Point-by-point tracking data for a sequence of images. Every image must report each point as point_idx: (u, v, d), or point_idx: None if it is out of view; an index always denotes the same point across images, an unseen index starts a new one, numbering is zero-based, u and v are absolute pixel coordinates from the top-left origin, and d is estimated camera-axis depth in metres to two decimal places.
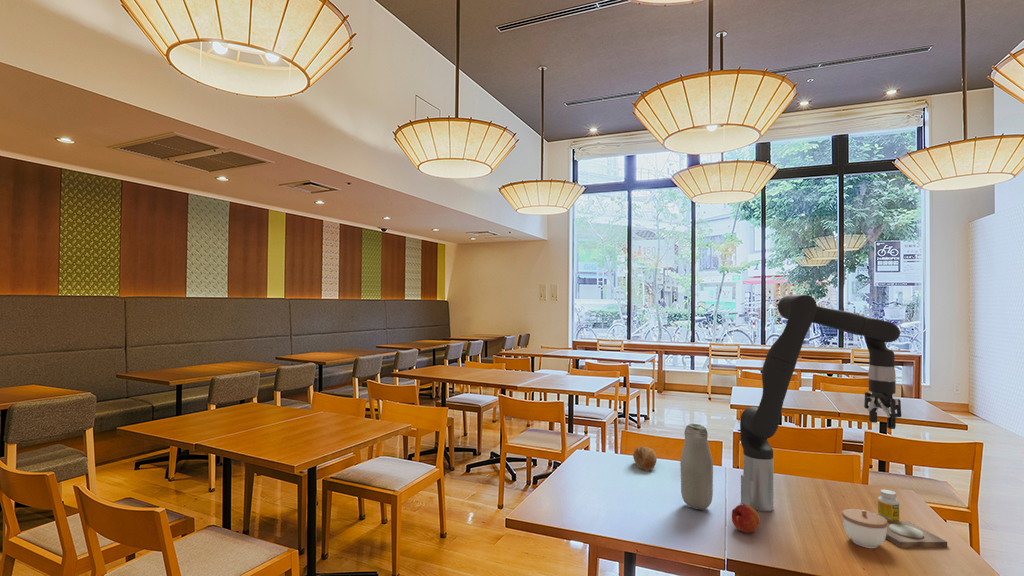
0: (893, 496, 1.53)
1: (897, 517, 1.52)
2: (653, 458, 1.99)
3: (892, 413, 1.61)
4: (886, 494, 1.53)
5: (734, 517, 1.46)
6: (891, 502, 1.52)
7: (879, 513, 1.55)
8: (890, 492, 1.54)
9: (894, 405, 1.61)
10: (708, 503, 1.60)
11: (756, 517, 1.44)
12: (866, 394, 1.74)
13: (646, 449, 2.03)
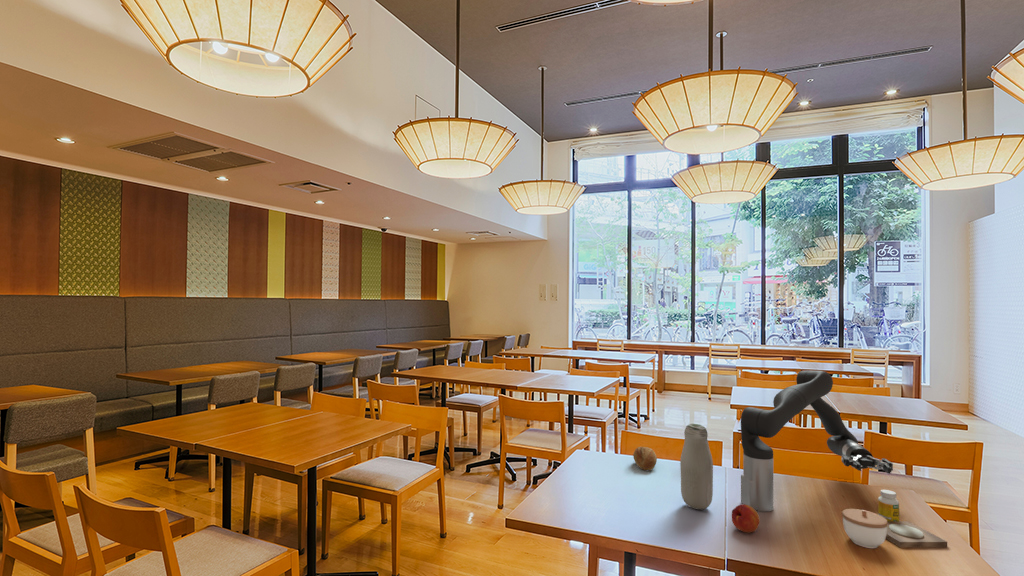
0: (893, 496, 1.53)
1: (897, 517, 1.52)
2: (653, 458, 1.99)
3: (889, 462, 1.69)
4: (886, 494, 1.53)
5: (734, 517, 1.46)
6: (891, 502, 1.52)
7: (879, 513, 1.55)
8: (890, 492, 1.54)
9: None
10: (708, 503, 1.60)
11: (756, 517, 1.44)
12: (844, 455, 1.76)
13: (646, 449, 2.03)
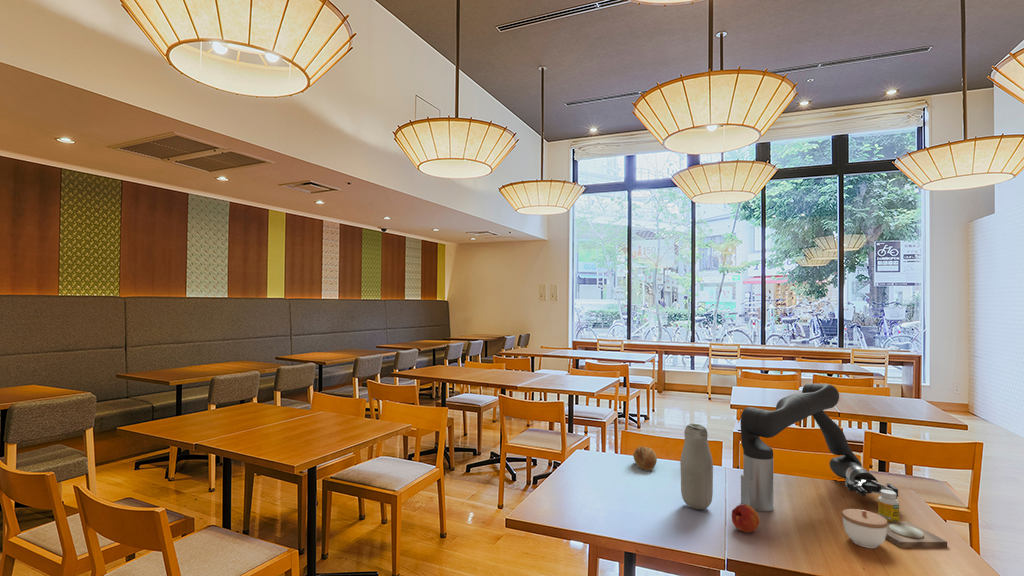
0: (893, 496, 1.53)
1: (897, 517, 1.52)
2: (653, 458, 1.99)
3: (895, 488, 1.64)
4: (886, 494, 1.53)
5: (734, 517, 1.46)
6: (891, 502, 1.52)
7: (879, 513, 1.55)
8: (890, 492, 1.54)
9: None
10: (708, 503, 1.60)
11: (756, 517, 1.44)
12: (848, 479, 1.72)
13: (646, 449, 2.03)
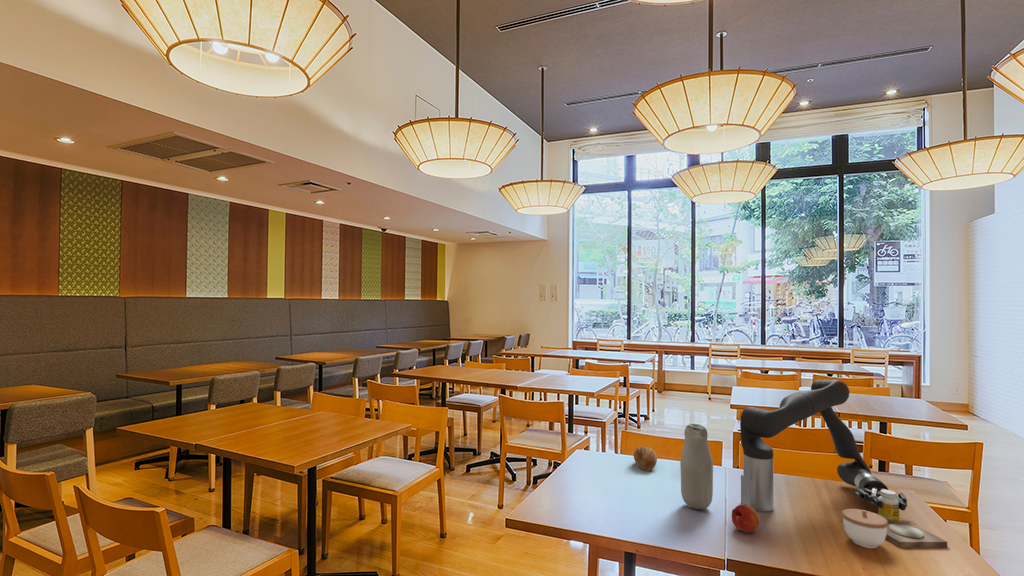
0: (893, 496, 1.53)
1: (897, 517, 1.52)
2: (653, 458, 1.99)
3: (904, 497, 1.56)
4: (886, 494, 1.53)
5: (734, 517, 1.46)
6: (891, 502, 1.52)
7: (879, 513, 1.55)
8: (890, 492, 1.54)
9: (904, 496, 1.58)
10: (708, 503, 1.60)
11: (756, 517, 1.44)
12: (858, 488, 1.63)
13: (646, 449, 2.03)
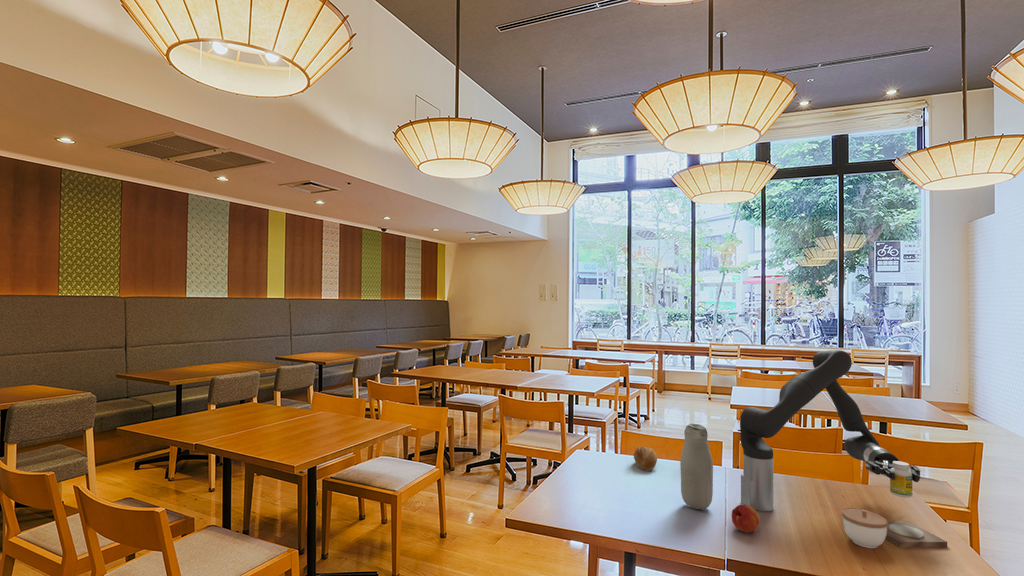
0: (906, 467, 1.45)
1: (910, 489, 1.45)
2: (653, 458, 1.99)
3: (917, 469, 1.49)
4: (898, 466, 1.46)
5: (734, 517, 1.46)
6: (904, 473, 1.45)
7: (891, 485, 1.48)
8: (903, 463, 1.47)
9: None
10: (708, 503, 1.60)
11: (756, 517, 1.44)
12: (869, 461, 1.56)
13: (646, 449, 2.03)
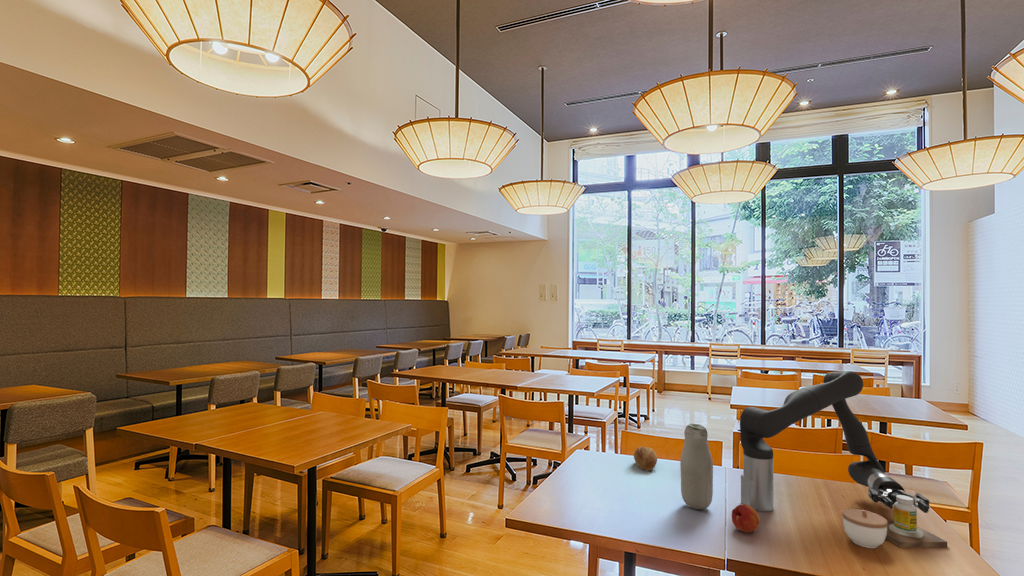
0: (910, 502, 1.43)
1: (914, 524, 1.42)
2: (653, 458, 1.99)
3: (925, 499, 1.46)
4: (902, 500, 1.44)
5: (734, 517, 1.46)
6: (908, 508, 1.42)
7: (895, 520, 1.45)
8: (907, 498, 1.44)
9: None
10: (708, 503, 1.60)
11: (756, 517, 1.44)
12: (871, 489, 1.54)
13: (647, 449, 2.03)
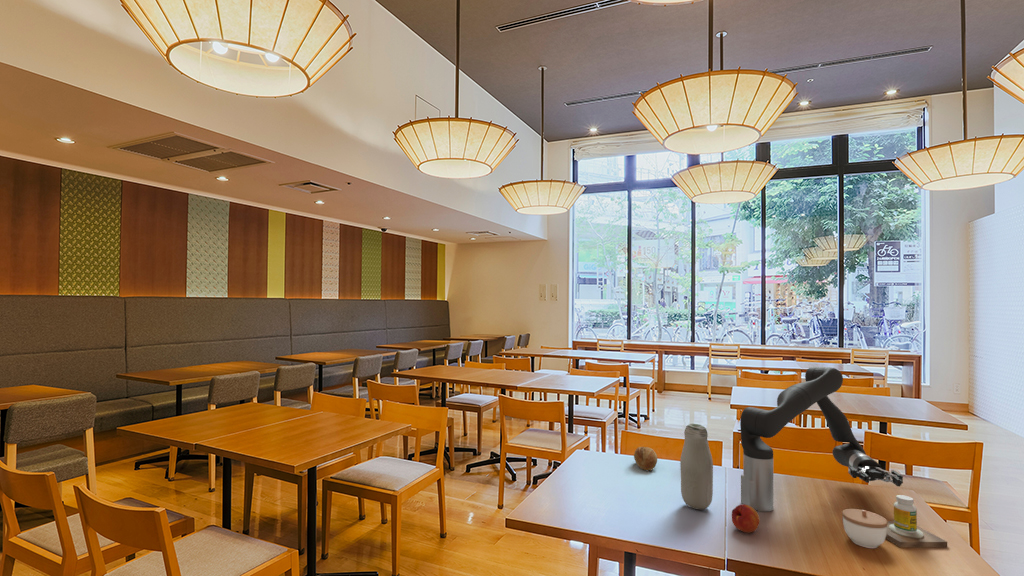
0: (910, 502, 1.43)
1: (914, 525, 1.42)
2: (654, 458, 1.99)
3: (899, 475, 1.60)
4: (902, 500, 1.44)
5: (734, 517, 1.46)
6: (908, 508, 1.42)
7: (895, 520, 1.45)
8: (907, 498, 1.44)
9: None
10: (708, 503, 1.60)
11: (756, 517, 1.44)
12: (851, 466, 1.68)
13: (647, 449, 2.03)
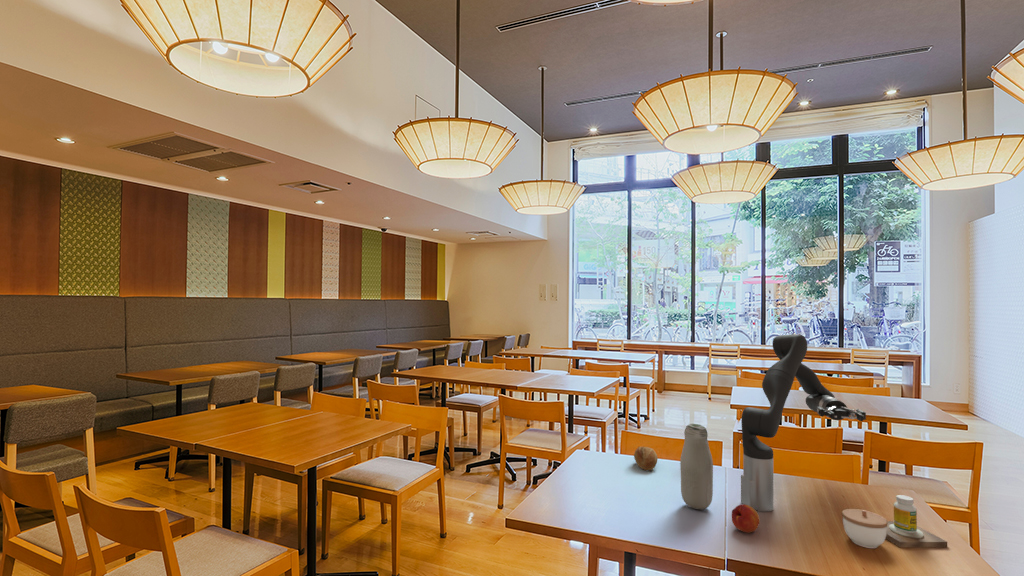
0: (910, 502, 1.43)
1: (914, 525, 1.42)
2: (654, 458, 1.99)
3: (863, 412, 1.73)
4: (902, 500, 1.44)
5: (734, 517, 1.46)
6: (908, 508, 1.42)
7: (895, 520, 1.45)
8: (907, 498, 1.44)
9: None
10: (708, 503, 1.60)
11: (756, 517, 1.44)
12: (819, 407, 1.81)
13: (647, 449, 2.03)
